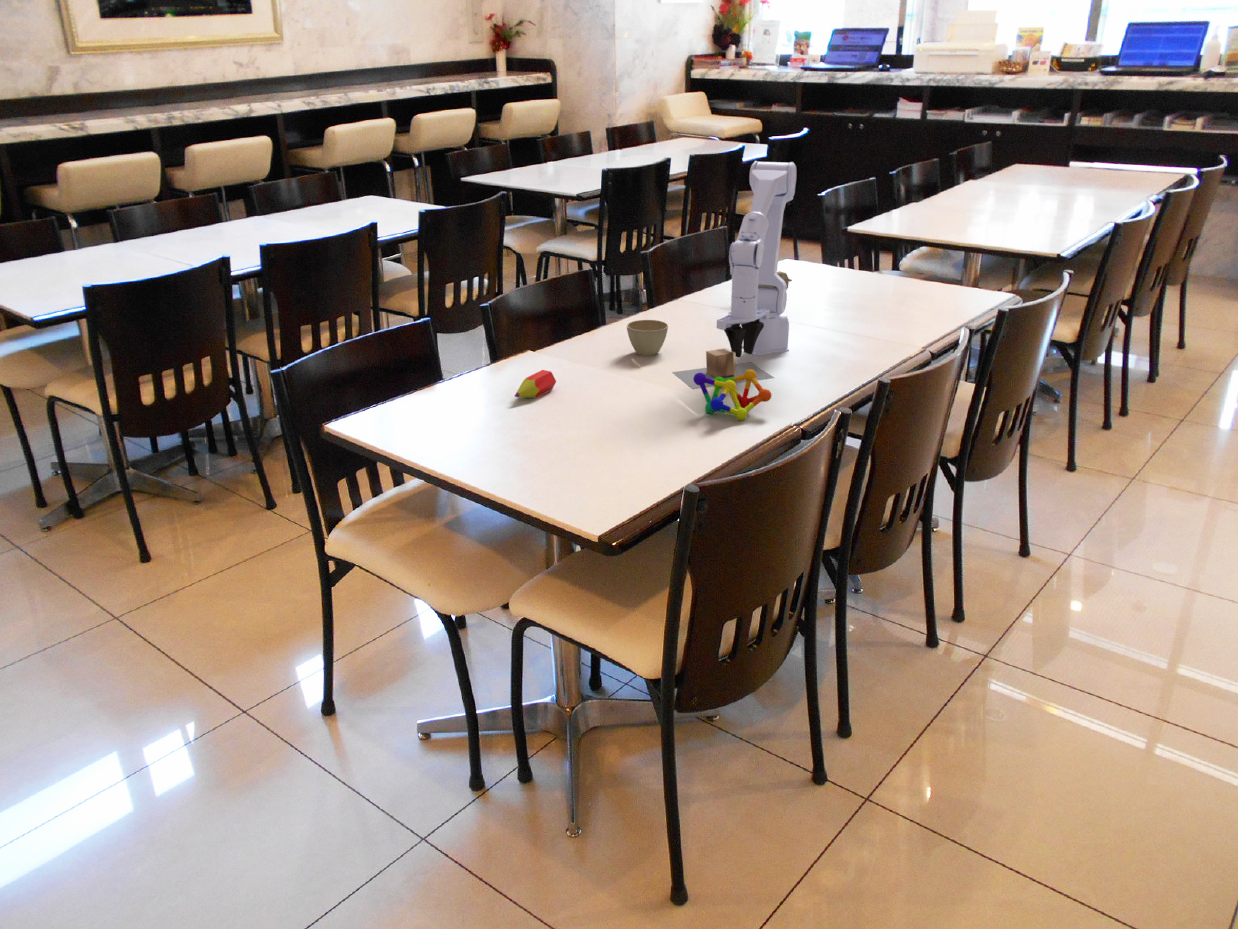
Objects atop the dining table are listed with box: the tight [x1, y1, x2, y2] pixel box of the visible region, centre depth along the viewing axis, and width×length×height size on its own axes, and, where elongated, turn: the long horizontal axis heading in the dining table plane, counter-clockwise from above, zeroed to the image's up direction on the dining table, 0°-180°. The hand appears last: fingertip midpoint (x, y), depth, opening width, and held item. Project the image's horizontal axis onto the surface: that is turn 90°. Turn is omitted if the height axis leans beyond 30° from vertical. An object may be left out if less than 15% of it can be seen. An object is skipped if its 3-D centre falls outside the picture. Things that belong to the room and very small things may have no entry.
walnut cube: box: [705, 347, 737, 377], centre depth 212 cm, size 5×5×5 cm
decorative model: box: [693, 369, 772, 421], centre depth 192 cm, size 13×9×15 cm
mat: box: [672, 361, 775, 390], centre depth 213 cm, size 20×12×1 cm, turn 109°
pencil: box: [514, 369, 557, 399], centre depth 203 cm, size 5×12×4 cm, turn 148°
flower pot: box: [626, 319, 669, 357], centre depth 228 cm, size 10×10×7 cm
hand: (742, 354), depth 212 cm, fingers open, 3 cm apart
